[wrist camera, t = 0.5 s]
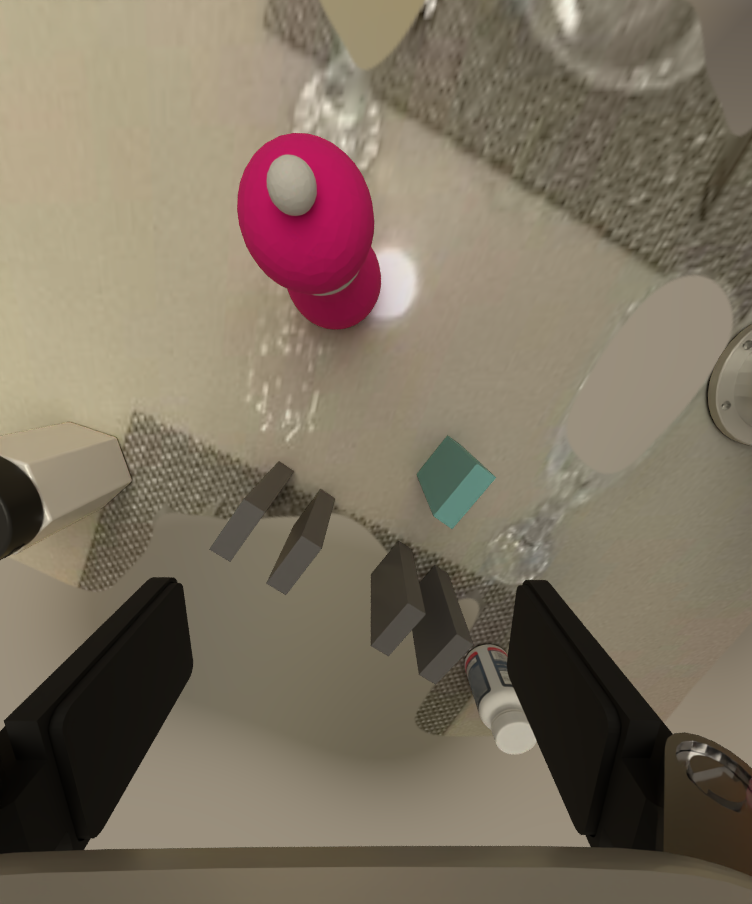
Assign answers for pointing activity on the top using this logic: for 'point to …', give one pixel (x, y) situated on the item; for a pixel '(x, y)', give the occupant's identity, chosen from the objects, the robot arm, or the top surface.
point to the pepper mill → (312, 227)
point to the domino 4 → (453, 481)
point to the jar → (54, 481)
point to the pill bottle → (498, 699)
